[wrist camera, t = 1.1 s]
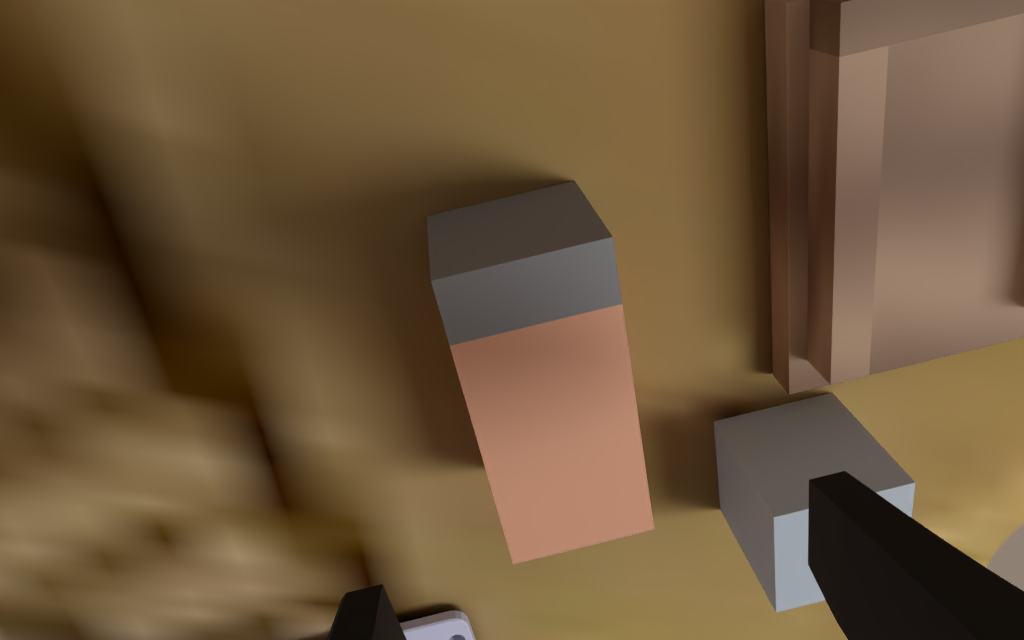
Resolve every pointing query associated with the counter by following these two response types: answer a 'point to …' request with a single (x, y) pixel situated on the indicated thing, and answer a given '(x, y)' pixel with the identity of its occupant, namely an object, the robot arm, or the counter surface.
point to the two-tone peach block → (544, 366)
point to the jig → (893, 183)
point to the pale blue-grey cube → (794, 484)
